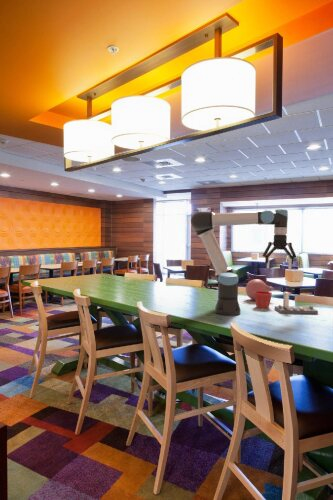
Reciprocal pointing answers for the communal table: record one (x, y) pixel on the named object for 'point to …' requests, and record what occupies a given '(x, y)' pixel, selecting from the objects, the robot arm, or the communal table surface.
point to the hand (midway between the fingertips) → (278, 268)
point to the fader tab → (286, 300)
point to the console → (296, 310)
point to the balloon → (256, 287)
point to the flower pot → (262, 299)
